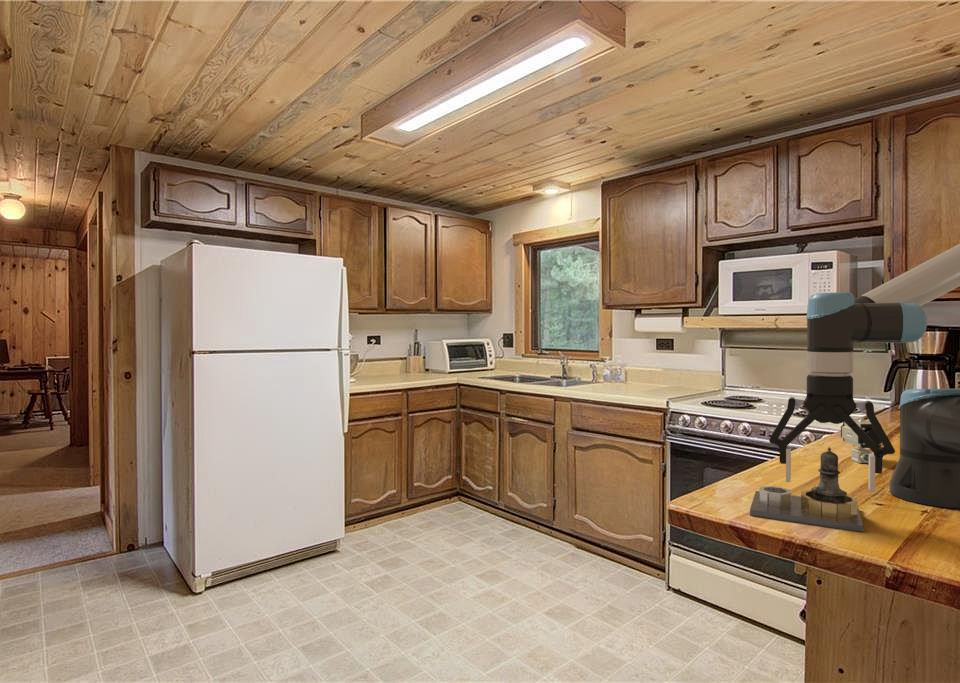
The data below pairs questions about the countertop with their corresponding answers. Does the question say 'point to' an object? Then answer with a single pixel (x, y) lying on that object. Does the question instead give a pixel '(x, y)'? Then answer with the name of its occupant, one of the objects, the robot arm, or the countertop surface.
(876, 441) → the pneumatic valve
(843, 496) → the salt shaker
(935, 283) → the robot arm
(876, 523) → the countertop surface
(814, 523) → the plate
